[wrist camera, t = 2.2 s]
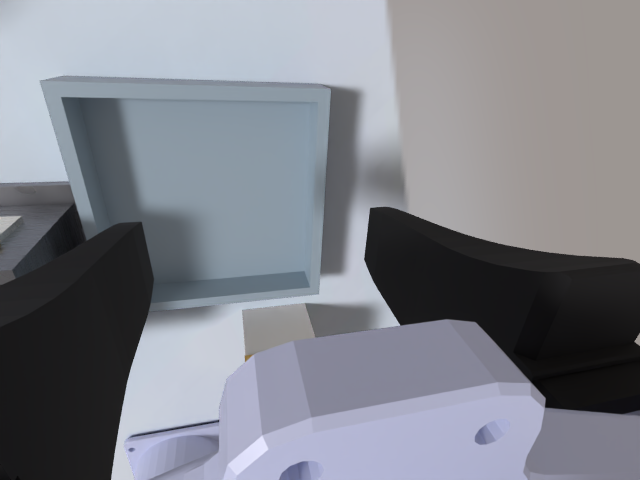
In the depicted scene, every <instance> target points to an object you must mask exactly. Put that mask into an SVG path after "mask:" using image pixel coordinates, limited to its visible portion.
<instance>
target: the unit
mask: <svg viewBox="0 0 640 480" xmlns="http://www.w3.org/2000/svg"><path fill="white" fill-rule="evenodd" d="M86 241H87V240H86V237H85V234H84V230H83V227H82V223H81V220H80V216H79V213H78V210H77V206H76V203H75V199H74V196H73V193H72V189H71V186H70V182H43V183H7V184H0V285H2V284H5V283H7V282H9V281H11V280H14V279H16V278H18V277H21V276H23V275H25V274H27V273H29V272H31V271H33V270H35V269H37V268H39V267H41V266H43V265H45V264H47V263H48V262H50V261H52V260H54V259H56V258H58V257H59V256H61V255H63V254H65V253H67V252H69V251H70V250H72V249H74V248H75V247H77V246H79V245H81V244H82V243H84V242H86Z"/></svg>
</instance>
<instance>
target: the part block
mask: <svg viewBox="0 0 640 480" xmlns="http://www.w3.org/2000/svg"><path fill="white" fill-rule="evenodd" d="M242 315H243V330H244V345H245V362H246V361H247V360H248V359H249V358H250V357H251V356H252V355H254V354H256V353H258V352H261V351H264V350H267V349H270V348H273V347H276V346H279V345H282V344H285V343H288V342H291V341H295V340H302V339H309V338H316V337H315V334H314V331H313V328H312V325H311V321H310V318H309V315H308V312H307V309H306V306H305V303H301V304H292V305H283V306H274V307H264V308H255V309H246V310H242Z"/></svg>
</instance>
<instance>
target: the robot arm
mask: <svg viewBox="0 0 640 480" xmlns="http://www.w3.org/2000/svg"><path fill="white" fill-rule="evenodd" d="M364 260H365V262H366V265H367V267H368V270H369V272H370V275H371V277H372V279H373V282H374V283H375V285H376V287H377V288H378V290H379V292H380V293H381V295H382V297H383V298H384V300H385V301H386V303H387V305H388V306H389V308H390V309H391V311H392V313H393V314H394V316H395V317H396V319H397V321H398V322H399V324H400V325H401V326H395V327H388V328H381V329H374V330H366V331H359V332H352V333H345V334H338V335H331V336H324V337H316V338H309V339H302V340H295V341H291V342H288V343H285V344H282V345H279V346H276V347H273V348H270V349H267V350H264V351H261V352H258V353H256V354H254V355H252V356H251V357H250V358H249V359H248V360H247V361H246V362H245V363H244V364H243V365H241V366H240V367H239V368H238V369H237V370H236V371H235V372H234V373H233V374H232V375H230V376H229V377H228V378H227V379H226V383H225V387H224V391H223V395H222V398H221V402H220V406H219V422H217V423H211V424H205V425H200V426H194V427H188V428H183V429H177V430H171V431H166V432H160V433H154V434H148V435H143V436H137V437H131V438H128V439H126V440H125V442H124V449H125V452H126V455H127V458H128V460H129V463H130V466H131V469H132V472H133V475H134V480H640V346H639V345H638V344H636V343H635V342H634V341H635V340H636V338H637V336H638V335H639V333H640V264H639V263H637V262H636V261H633V260H629V259H624V258H608V257H591V256H575V255H566V254H557V253H549V252H541V251H535V250H529V249H523V248H517V247H513V246H507V245H503V244H498V243H494V242H490V241H486V240H483V239H479V238H475V237H472V236H468V235H465V234H462V233H459V232H456V231H453V230H450V229H448V228H445V227H442V226H439V225H437V224H434V223H431V222H429V221H426V220H424V219H421V218H419V217H416V216H414V215H411V214H409V213H406V212H403V211H401V210H398V209H394V208H390V207H376V208H370V214H369V223H368V232H367V240H366V249H365V258H364ZM153 284H154V276H153V271H152V267H151V262H150V257H149V253H148V248H147V244H146V239H145V234H144V230H143V225H142V222H125V223H118V224H115V225H113V226H111V227H109V228H107V229H106V230H104V231H102V232H100V233H99V234H97V235H95V236H94V237H92V238H91V239H89V240H87V241H86V242H84V243H82V244H81V245H79V246H77V247H75V248H74V249H72V250H70V251H69V252H67V253H65V254H63V255H61V256H59V257H58V258H56V259H54V260H52V261H50V262H48V263H47V264H45V265H43V266H41V267H39V268H37V269H35V270H33V271H31V272H29V273H27V274H25V275H23V276H21V277H18V278H16V279H14V280H11V281H9V282H7V283H5V284H2V285H0V480H111V474H112V467H113V460H114V453H115V447H116V441H117V435H118V429H119V423H120V417H121V411H122V406H123V401H124V396H125V390H126V385H127V380H128V377H129V373H130V369H131V366H132V363H133V359H134V356H135V353H136V350H137V347H138V344H139V341H140V337H141V334H142V331H143V328H144V325H145V322H146V318H147V315H148V312H149V309H150V305H151V298H152V292H153Z"/></svg>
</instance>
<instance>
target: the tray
mask: <svg viewBox="0 0 640 480" xmlns="http://www.w3.org/2000/svg"><path fill="white" fill-rule="evenodd" d="M40 84H41V87H42V91H43V94H44V97H45V101H46V104H47V108H48V111H49V114H50V118H51V121H52V125H53V128H54V131H55V135H56V138H57V142H58V145H59V148H60V152H61V155H62V159H63V162H64V165H65V169H66V172H67V176H68V179H69V182H70V186H71V189H72V193H73V196H74V199H75V203H76V206H77V210H78V213H79V216H80V220H81V223H82V227H83V230H84V234H85V237H86V240H89V239H91V238H92V237H94V236H95V235H97V234H99V233H100V232H102V231H104V230H106V229H107V228H109V227H111V226H113V225H115V224H118V223H125V222H142V225H143V230H144V234H145V239H146V244H147V248H148V253H149V257H150V262H151V267H152V271H153V276H154V284H153V292H152V298H151V305H150V309H149V312H154V311H164V310H173V309H183V308H192V307H202V306H211V305H221V304H230V303H240V302H250V301H259V300H269V299H278V298H288V297H297V296H307V295H316V294H319V285H320V268H321V251H322V234H323V217H324V200H325V183H326V166H327V149H328V132H329V115H330V98H331V89H330V88H327V87H325V86H323V85H321V84H309V83H277V82H245V81H213V80H181V79H149V78H117V77H85V76H60V77H55V78H51V79H46V80H41V81H40Z"/></svg>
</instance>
